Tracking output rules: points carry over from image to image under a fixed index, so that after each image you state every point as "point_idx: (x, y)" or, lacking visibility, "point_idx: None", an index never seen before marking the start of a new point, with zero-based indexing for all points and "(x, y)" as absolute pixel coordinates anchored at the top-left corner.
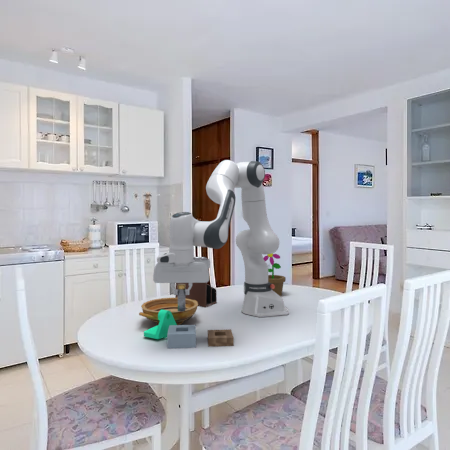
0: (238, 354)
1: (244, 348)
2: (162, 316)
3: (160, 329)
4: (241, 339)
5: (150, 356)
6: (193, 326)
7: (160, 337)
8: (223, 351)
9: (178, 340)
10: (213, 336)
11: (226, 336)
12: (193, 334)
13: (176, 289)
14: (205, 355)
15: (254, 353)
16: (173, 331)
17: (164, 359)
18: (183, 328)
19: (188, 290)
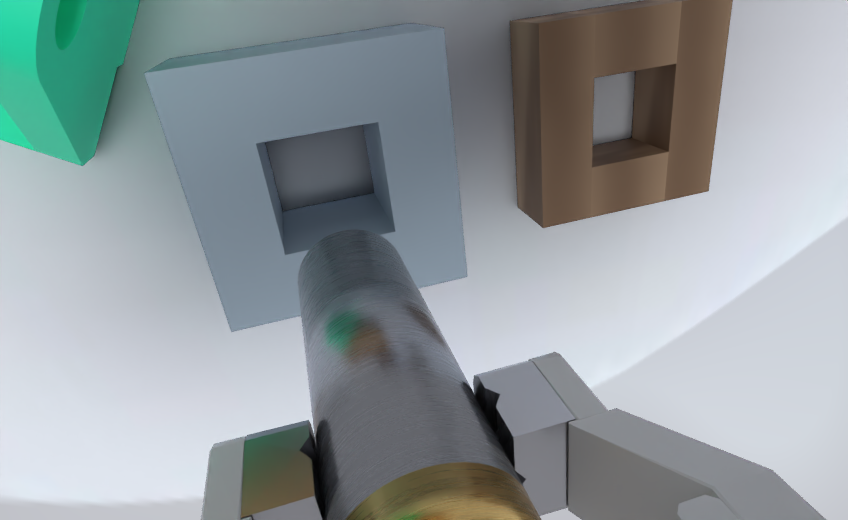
0: (670, 291)
1: (719, 206)
2: (2, 80)
3: (74, 148)
4: (743, 44)
5: (172, 406)
6: (427, 91)
7: (98, 130)
8: (600, 266)
9: None
10: (579, 185)
11: (667, 174)
12: (447, 277)
13: (275, 508)
14: (501, 333)
15: (748, 266)
16: (263, 256)
17: (279, 422)
18: (329, 126)
19: (585, 499)
